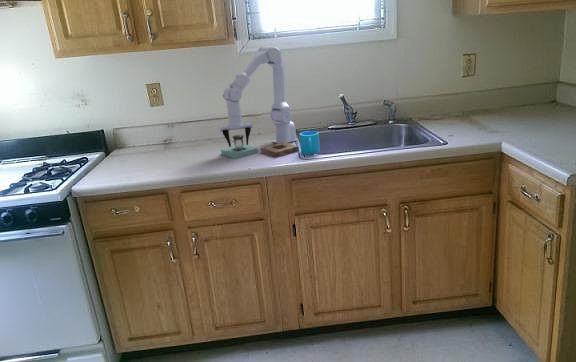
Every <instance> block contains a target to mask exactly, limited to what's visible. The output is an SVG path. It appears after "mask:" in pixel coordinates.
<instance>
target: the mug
mask: <svg viewBox="0 0 576 362" xmlns="http://www.w3.org/2000/svg"><path fill="white" fill-rule="evenodd" d="M299 145H300V154H302V155H316V154H319V153H320V152H321V147H320V146H321V145H320V133H319V131H316V130H308V131H303V132H300V133H299Z"/></svg>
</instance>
